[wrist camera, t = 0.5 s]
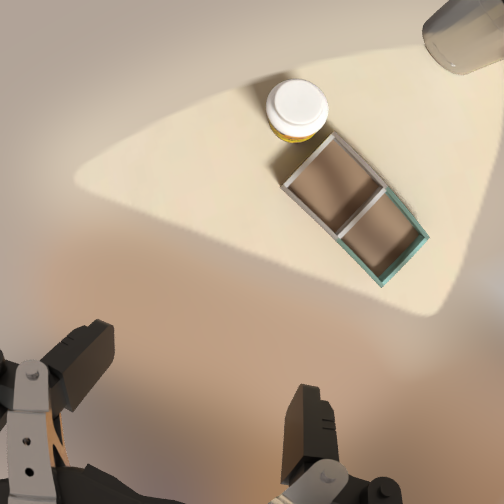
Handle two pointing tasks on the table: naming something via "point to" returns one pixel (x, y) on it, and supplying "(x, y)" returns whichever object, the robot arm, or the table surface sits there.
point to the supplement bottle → (296, 110)
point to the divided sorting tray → (356, 208)
